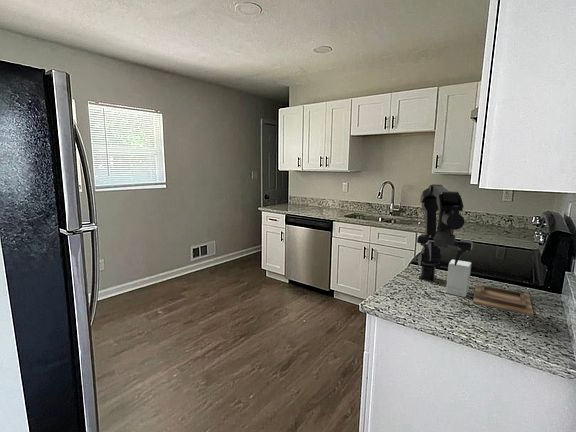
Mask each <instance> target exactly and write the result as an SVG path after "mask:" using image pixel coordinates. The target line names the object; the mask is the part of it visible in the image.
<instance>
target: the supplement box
mask: <svg viewBox="0 0 576 432" xmlns="http://www.w3.org/2000/svg"><path fill="white" fill-rule="evenodd" d="M471 270H472V262H470V261H465V260H460V259H459V260H458V262H457V264H456V266H455V259H451V260H450V261H449V263H448V268H447V277H446V288H445V289H446V290H445V293H446V294H451V295H455V296H459V297H463V298H467V295H468V292H469V288H470V287H469V286H470V280H471Z"/></svg>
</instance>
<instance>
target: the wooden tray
mask: <svg viewBox="0 0 576 432" xmlns="http://www.w3.org/2000/svg"><path fill="white" fill-rule="evenodd" d="M472 299H473V300H472V304H477V305H481V306H485V307H490V308H495V309H499V310H504V311H509V312H513V313H518V314H523V315H528V316H532V317H534V310H533V306H532V303H531V298H530V294H528V293H524V292H521V291H516V290H515V291H514V290H510V289H505V288H498V287H495V286H488V285H482V284H481V285H480V284H476V285H475V289H474V293H473V298H472Z"/></svg>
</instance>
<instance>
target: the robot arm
mask: <svg viewBox="0 0 576 432" xmlns="http://www.w3.org/2000/svg"><path fill="white" fill-rule="evenodd" d="M463 202H464V201H463V200H462V196H461V194H460V193H459V191H457V190H456V191H455V190H454V191H453V190H449V189H447V188H445V187H444V185H442V184H434V183H433V184H430V185H429V186H428V188H426V189H424V190H423V191H422V192H421V195H420V203H421V208H422V210H423V211H424V212H425V213H424V214H425V215H424V216H425V217H424V221H425V224H424V225H425V226H424V227H425V228H424V229H425V232H424V233H421V234H419V235H418V236H417V239H416V242H417V243H418V244H420V245H419V246H422V248H421V250H420V251H421V252H420V253H419V255H418V258H417V264H418V265H419V267H421V271H420V275H419V277H418V279H419V280H423V281H429V282H435V281H436V280H437V276H436V268H441V264H442V261H443V256H442V254H441V247H442V248H446V249H447V248H448V247H449V246H454V247H458V249H457V250H456V251H457V252H456V256H455V259H454V260H455V266H456V264H457V262H458V260H459V261H460V258H461V256H462V255H463V253H467V252H469V251H470V252H471V251H472V249H473V248H474V247H473V246H474V241H472V240H469V239H464V238H463V239H462V238H461V239H460V241H459V240H456V235H455V233H454V231H458V230H460V229H462V228H463V226H464V225H465V219H464V217H463V216H462V215H461V214H460V212H463V209H464V203H463ZM437 212H438V215H437ZM437 216H438V217H437ZM437 218H438V219H437Z"/></svg>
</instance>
